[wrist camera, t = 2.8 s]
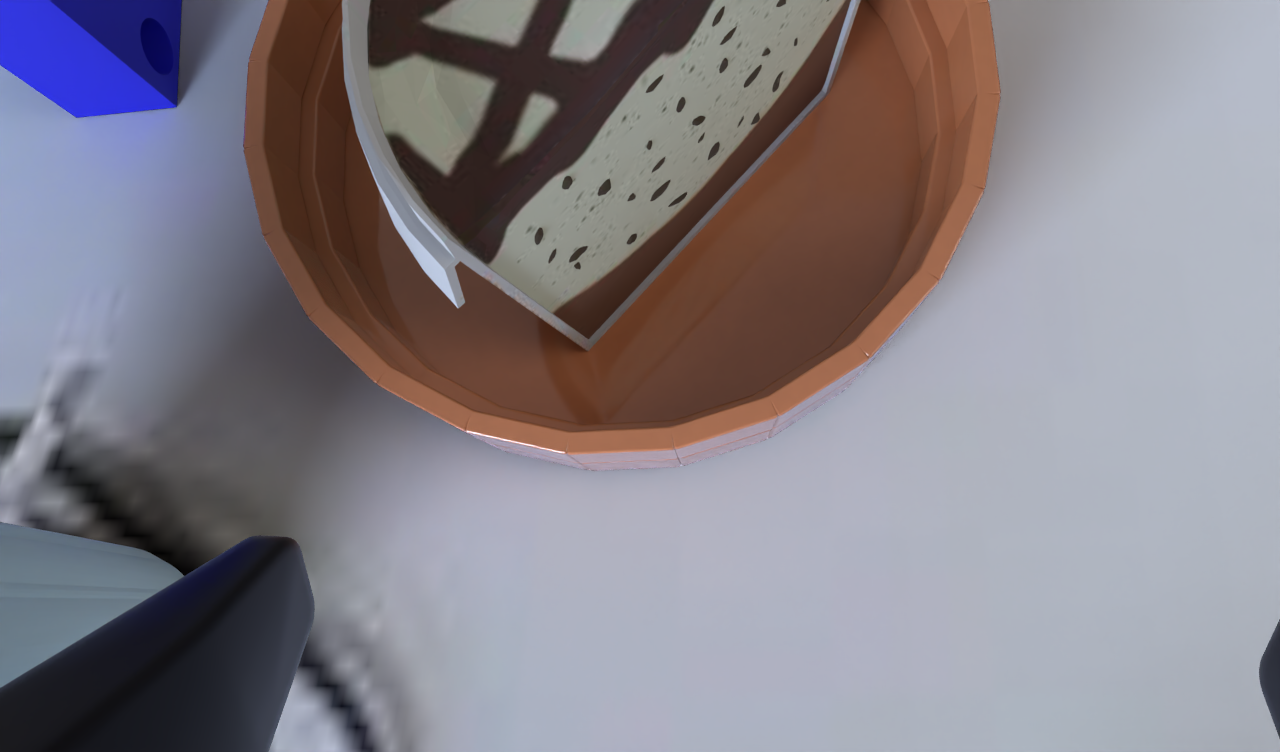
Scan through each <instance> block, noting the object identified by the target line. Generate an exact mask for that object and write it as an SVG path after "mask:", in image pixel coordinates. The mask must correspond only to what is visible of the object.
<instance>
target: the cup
mask: <svg viewBox="0 0 1280 752" xmlns="http://www.w3.org/2000/svg"><path fill="white" fill-rule="evenodd" d="M182 577H184V575H183V574H182V573H181V572H180V571H179V570H177V569H176V568H175V567H173V566H172V565H170V564H169V563H167V562H165V561H163V560H162V559H160V558H158V557H156V556H155V555H153V554H151V553H149V552H147V551H144V550H141V549H137V548H134V547H128V546H123V545H118V544H113V543H108V542H103V541H97V540H92V539H87V538H82V537H77V536H71V535H66V534H61V533H56V532H50V531H45V530H39V529H34V528H29V527H23V526H18V525H13V524H7V523H2V522H0V688H1V687H2V686H4V685H6V684H7V683H9V682H10V681H12V680H14V679H15V678H17V677H19V676H20V675H22V674H24V673H25V672H27V671H29V670H30V669H32V668H34V667H35V666H37V665H39V664H40V663H42V662H44V661H45V660H47V659H48V658H50V657H52V656H53V655H55V654H57V653H58V652H60V651H62V650H63V649H65V648H67V647H68V646H70V645H72V644H73V643H75V642H76V641H78V640H80V639H81V638H83V637H85V636H86V635H88V634H90V633H91V632H93V631H95V630H96V629H98V628H100V627H101V626H103V625H105V624H106V623H108V622H109V621H111V620H113V619H114V618H116V617H118V616H119V615H121V614H123V613H124V612H126V611H128V610H129V609H131V608H133V607H134V606H136V605H138V604H139V603H141V602H142V601H144V600H146V599H147V598H149V597H151V596H152V595H154V594H156V593H157V592H159V591H161V590H162V589H164V588H166V587H167V586H169V585H171V584H172V583H174V582H175V581H177V580H179V579H180V578H182Z"/></svg>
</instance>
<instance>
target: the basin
mask: <svg viewBox="0 0 1280 752" xmlns="http://www.w3.org/2000/svg"><path fill="white" fill-rule="evenodd" d="M342 22H343V13H342V0H269V1H268V4H267V7H266V10H265V13H264V16H263V19H262V22H261V25H260V28H259V31H258V34H257V36H256V39H255V42H254V45H253V48H252V51H251V54H250V57H249V62H248V76H247V93H246V110H245V127H244V144H243V147H244V154H245V159H246V163H247V168H248V172H249V177H250V181H251V186H252V190H253V195H254V199H255V203H256V208H257V212H258V217H259V221H260V226H261V230H262V235H263V236H264V240H265V242H266V243H267V245H268V247H269V249H270V251H271V252H272V254H273V256H274V258H275V260H276V261H277V263H278V265H279V267H280V269H281V270H282V272H283V274H284V276H285V277H286V279H287V281H288V283H289V285H290V286H291V288H292V290H293V292H294V294H295V295H296V297H297V299H298V301H299V303H300V304H301V306H302V308H303V310H304V312H305V313H306V315H307V316H308V317H309V319H310V320H311V321H312V322H313V323H314V324H315V325H316V326H317V327H318V328H319V329H320V330H321V331H322V332H323V333H324V334H325V335H326V336H327V337H328V338H329V339H330V340H331V341H332V342H333V343H334V344H335V345H336V346H337V347H338V348H339V349H340V350H341V351H342V352H343V353H344V354H346V355H347V356H348V357H349V358H350V359H351V360H352V361H353V362H354V363H355V364H356V365H357V366H358V367H359V368H360V369H361V370H362V371H363V372H364V373H365V374H366V375H367V376H368V377H369V378H370V379H371V380H372V381H373V382H374V383H376V384H378V386H380V387H382V388H383V389H385V390H387V391H389V392H391V393H393V394H395V395H396V396H398V397H400V398H402V399H404V400H406V401H408V402H409V403H411V404H413V405H415V406H417V407H419V408H421V409H422V410H424V411H426V412H428V413H430V414H432V415H434V416H436V417H437V418H439V419H441V420H443V421H445V422H447V423H449V424H450V425H452V426H454V427H456V428H458V429H460V430H462V431H464V432H466V433H468V434H470V435H472V436H474V437H476V438H478V439H480V440H482V441H484V442H486V443H488V444H490V445H492V446H494V447H496V448H498V449H500V450H503V451H505V452H509V453H513V454H518V455H522V456H527V457H531V458H536V459H540V460H545V461H549V462H553V463H558V464H562V465H567V466H571V467H576V468H580V469H585V470H589V469H590V470H592V471H597V470H620V469H643V468H665V467H679V466H680V465H684V466H685V465H688V464H691V463H694V462H697V461H701V460H704V459H707V458H710V457H713V456H716V455H720V454H723V453H726V452H729V451H732V450H735V449H739V448H742V447H745V446H748V445H751V444H754V443H758V442H761V441H764V440H766V439H767V438H771V437H773V436H774V435H776V434H778V433H779V432H781V431H782V430H784V429H785V428H787V427H788V426H790V425H792V424H793V423H795V422H796V421H798V420H799V419H801V418H803V417H804V416H806V415H807V414H809V413H810V412H812V411H814V410H815V409H817V408H818V407H820V406H821V405H823V404H824V403H826V402H828V401H829V400H831V399H832V398H834V397H835V396H837V395H839V394H840V393H842V392H843V391H844V390H845V389H846V388H848V387H849V386H850V385H851V383H852V382H853V381H854V380H855V379H856V378H857V377H858V376H859V375H860V373H861V372H862V371H863V370H864V369H865V368H866V367H867V366H868V365H869V363H870V362H871V361H872V360H873V359H874V358H875V357H876V356H877V355H878V353H879V352H880V351H881V350H882V349H883V348H884V347H885V346H886V345H887V343H888V342H889V341H890V340H891V339H892V338H893V337H894V336H895V335H896V334H897V332H898V331H899V330H900V329H901V328H902V327H903V326H904V325H905V323H906V322H907V321H908V320H909V318H910V317H911V316H912V315H913V314H914V312H915V311H916V310H917V309H918V307H919V306H920V305H921V304H922V303H923V301H924V300H925V299H926V298H927V297H928V295H929V294H930V293H931V292H932V291H933V289H934V288H935V287H936V286H937V284H938V283H939V281H940V280H941V279H942V277H943V275H944V273H945V271H946V269H947V267H948V265H949V263H950V261H951V259H952V257H953V254H954V252H955V250H956V248H957V246H958V244H959V242H960V240H961V238H962V236H963V234H964V232H965V230H966V228H967V226H968V224H969V222H970V220H971V218H972V216H973V214H974V212H975V210H976V207H977V205H978V203H979V201H980V199H981V197H982V195H983V193H984V189H985V187H986V181H987V175H988V169H989V163H990V157H991V151H992V145H993V139H994V133H995V127H996V121H997V115H998V109H999V103H1000V93H1001V91H1000V83H999V75H998V67H997V60H996V52H995V44H994V36H993V29H992V21H991V13H990V5H989V2H988V0H861V1H860V4H859V7H858V10H857V13H856V16H855V19H854V22H853V25H852V28H851V31H850V34H849V37H848V40H847V43H846V46H845V49H844V52H843V55H842V58H841V61H840V64H839V67H838V70H837V73H836V76H835V79H834V82H833V85H832V87H831V90H830V93H829V94H828V95H827V96H826V97H825V98H824V99H823V100H822V101H821V102H820V103H819V105H818V106H817V107H816V108H815V109H814V110H813V111H812V112H811V113H810V114H809V115H808V116H807V117H806V118H805V120H804V121H803V122H802V123H801V124H800V125H799V126H798V127H797V128H796V129H795V130H794V131H793V132H792V133H791V135H790V136H789V137H788V138H787V139H786V140H785V141H784V142H783V143H782V144H781V145H780V146H779V147H778V148H777V150H776V151H775V152H774V153H773V154H772V155H771V156H770V157H769V158H768V159H767V160H766V161H765V162H764V163H763V165H762V166H761V167H760V168H759V169H758V170H757V171H756V172H755V173H754V174H753V175H752V176H751V177H750V178H749V180H748V181H747V182H746V183H745V184H744V185H743V186H742V187H741V188H740V189H739V190H738V191H737V192H736V193H735V194H734V196H733V197H732V198H731V199H730V200H729V201H728V202H727V203H726V204H725V205H724V206H723V207H722V208H721V209H720V211H719V212H718V213H717V214H716V215H715V216H714V217H713V218H712V219H711V220H710V221H709V222H708V223H707V224H706V226H705V227H704V228H703V229H702V230H701V231H700V232H699V233H698V234H697V235H696V236H695V237H694V238H693V239H692V241H691V242H690V243H689V244H688V245H687V246H686V247H685V248H684V249H683V250H682V251H681V252H680V253H679V254H678V256H677V257H676V258H675V259H674V260H673V261H672V262H671V263H670V264H669V265H668V266H667V267H666V268H665V269H664V271H663V272H662V273H661V274H660V275H659V276H658V277H657V278H656V279H655V280H654V281H653V282H652V283H651V284H650V286H649V287H648V288H647V289H646V290H645V291H644V292H643V293H642V294H641V295H640V296H639V297H638V298H637V299H636V301H635V302H634V303H633V304H632V305H631V306H630V307H629V308H628V309H627V310H626V311H625V312H624V313H623V314H622V315H621V317H620V318H619V319H618V320H617V321H616V322H615V323H614V324H613V325H612V326H611V327H610V328H609V329H608V330H607V332H606V333H605V334H604V335H603V336H602V337H601V338H600V339H599V340H598V341H597V342H596V343H595V344H594V345H593V347H592V348H591V349H590V350H589V351H586V350H585V349H583V348H582V347H581V346H579V345H578V344H576V343H575V342H574V341H572V340H571V339H569V338H568V337H566V336H565V335H564V334H562V333H561V332H559V331H558V330H557V329H555V328H554V327H552V326H551V325H550V324H548V323H547V322H545V321H544V320H543V319H541V318H540V317H538V316H537V315H535V314H534V313H533V312H531V311H530V310H528V309H527V308H526V307H524V306H523V305H521V304H520V303H519V302H517V301H516V300H514V299H513V298H511V297H510V296H509V295H507V294H506V293H504V292H503V291H502V290H500V289H499V288H497V287H496V286H495V285H493V284H492V283H490V282H489V281H487V280H486V279H485V278H483V277H482V276H480V275H479V274H478V273H476V272H475V271H473V270H472V269H471V268H469V267H468V266H466V265H465V264H464V263H462V262H461V261H460V262H459V263H458V264H457V265H456V266H455V270H456V273H457V277H458V280H459V283H460V287H461V290H462V293H463V297H464V300H465V303H464V304H463V305H462V306H461V307H459V308H457V307H456V306H455V304H454V303H453V302H452V301H451V300H450V299H449V298H448V297H447V296H446V295H445V294H444V292H443V291H442V290H441V289H440V288H439V287H438V286H437V285H436V284H435V283H434V282H433V281H432V279H431V278H430V277H429V276H428V275H427V274H426V273H425V272H424V270H423V269H422V267H421V266H420V264H419V263H418V261H417V260H416V258H415V257H414V255H413V254H412V252H411V250H410V249H409V247H408V246H407V244H406V243H405V241H404V240H403V238H402V237H401V235H400V234H399V232H398V231H397V229H396V228H395V226H394V224H393V221H392V219H391V217H390V214H389V212H388V210H387V207H386V205H385V203H384V200H383V198H382V196H381V193H380V191H379V189H378V186H377V184H376V182H375V180H374V177H373V175H372V172H371V169H370V167H369V164H368V162H367V159H366V156H365V154H364V151H363V149H362V146H361V143H360V141H359V138H358V136H357V133H356V129H355V124H354V120H353V116H352V111H351V107H350V103H349V98H348V94H347V90H346V85H345V81H344V62H343V44H342Z"/></svg>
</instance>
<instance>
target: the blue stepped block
mask: <svg viewBox="0 0 1280 752" xmlns="http://www.w3.org/2000/svg"><path fill="white" fill-rule="evenodd" d="M181 5H182V0H0V65H1V66H2V67H4V68H5V69H7V70H8V71H10V72H11V73H13V74H14V75H15V76H17V77H18V78H20V79H21V80H23V81H24V82H26V83H27V84H29V85H30V86H31V87H33V88H34V89H36V90H37V91H39V92H40V93H42V94H43V95H44V96H46V97H47V98H49V99H50V100H52V101H53V102H55V103H56V104H58V105H59V106H60V107H62V108H63V109H65V110H66V111H68V112H69V113H71V114H72V115H73V116H75V117H76V118H77V117H87V116H96V115H106V114H116V113H125V112H135V111H145V110H154V109H164V108H174V107H177V92H178V71H179V49H180V27H181Z"/></svg>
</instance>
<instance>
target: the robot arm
mask: <svg viewBox="0 0 1280 752" xmlns="http://www.w3.org/2000/svg"><path fill="white" fill-rule="evenodd" d="M314 610H315V608H314V598H313V594H312V590H311V586H310V582H309V579H308V575H307V571H306V567H305V563H304V559H303V555H302V551H301V549H300V546H299V544H298V543H297V542H296V541H295V540H294V539H292V538H289V537H279V536H261V535H259V536H252V537H249V538H247V539H245V540H243V541H241V542H240V543H238V544H236V545H235V546H233V547H232V548H230V549H228V550H227V551H225V552H223V553H222V554H220V555H218V556H217V557H215V558H213V559H212V560H210V561H208V562H207V563H205V564H204V565H202V566H200V567H199V568H197V569H195V570H194V571H192V572H190V573H189V574H187V575H185V576H184V577H182V578H180V579H179V580H177V581H175V582H174V583H172V584H171V585H169V586H167V587H166V588H164V589H162V590H161V591H159V592H157V593H156V594H154V595H152V596H151V597H149V598H147V599H146V600H144V601H142V602H141V603H139V604H138V605H136V606H134V607H133V608H131V609H129V610H128V611H126V612H124V613H123V614H121V615H119V616H118V617H116V618H114V619H113V620H111V621H109V622H108V623H106V624H105V625H103V626H101V627H100V628H98V629H96V630H95V631H93V632H91V633H90V634H88V635H86V636H85V637H83V638H81V639H80V640H78V641H76V642H75V643H73V644H72V645H70V646H68V647H67V648H65V649H63V650H62V651H60V652H58V653H57V654H55V655H53V656H52V657H50V658H48V659H47V660H45V661H44V662H42V663H40V664H39V665H37V666H35V667H34V668H32V669H30V670H29V671H27V672H25V673H24V674H22V675H20V676H19V677H17V678H15V679H14V680H12V681H10V682H9V683H7V684H6V685H4V686H2V687H1V688H0V752H268V751H269V748H270V746H271V743H272V740H273V737H274V734H275V731H276V728H277V725H278V723H279V720H280V717H281V714H282V711H283V708H284V705H285V702H286V699H287V697H288V694H289V691H290V688H291V685H292V682H293V679H294V676H295V674H296V671H297V668H298V665H299V662H300V659H301V656H302V653H303V650H304V648H305V645H306V642H307V639H308V636H309V633H310V630H311V627H312V624H313V619H314ZM1259 678H1260V684H1261V688H1262V692H1263V695H1264V697H1265V700H1266V703H1267V705H1268V708H1269V711H1270V713H1271V716H1272V719H1273V722H1274V724H1275V727H1276V730H1277V732H1278V735H1279V738H1280V620H1279V622H1278V624H1277V626H1276V628H1275V631H1274V633H1273V635H1272V637H1271V639H1270V641H1269V643H1268V645H1267V648H1266V650H1265V652H1264V654H1263V656H1262V659H1261V662H1260V669H1259Z"/></svg>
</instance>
